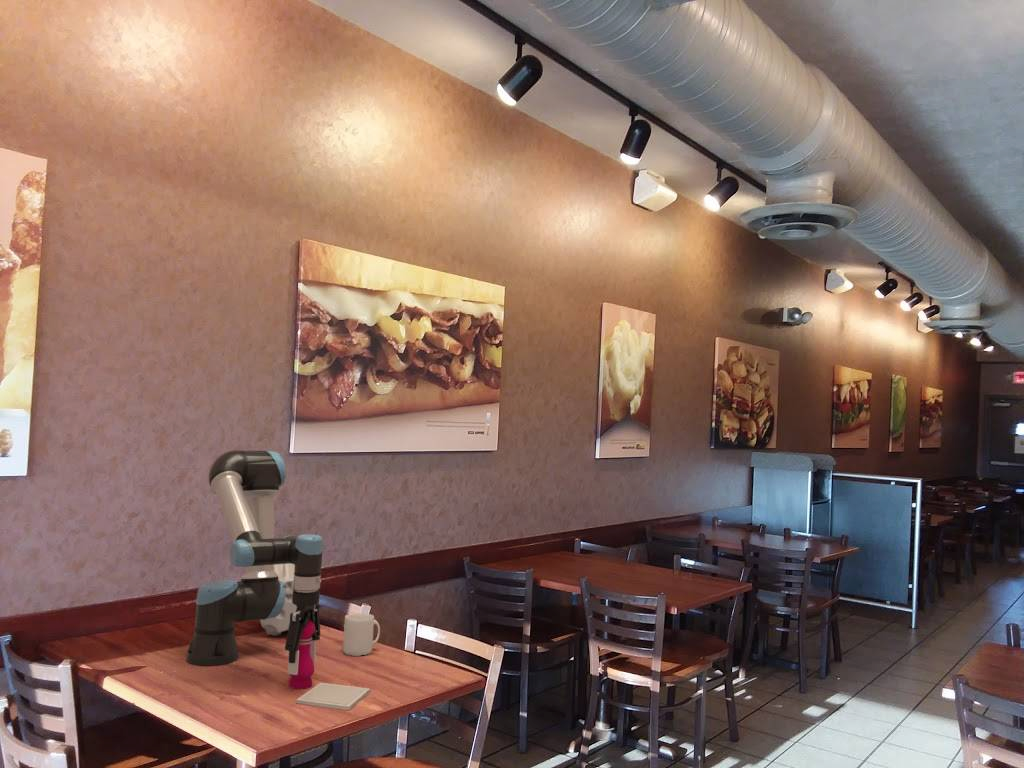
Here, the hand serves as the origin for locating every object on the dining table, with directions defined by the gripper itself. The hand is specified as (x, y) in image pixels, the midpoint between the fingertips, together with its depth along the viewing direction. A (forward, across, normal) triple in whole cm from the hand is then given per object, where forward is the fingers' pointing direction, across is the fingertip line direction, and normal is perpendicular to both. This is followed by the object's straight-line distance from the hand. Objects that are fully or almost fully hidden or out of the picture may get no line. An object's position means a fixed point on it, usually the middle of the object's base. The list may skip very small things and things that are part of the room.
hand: (301, 668), depth 228 cm
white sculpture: (+5, +49, +31) cm, 58 cm away
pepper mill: (+5, 0, 0) cm, 5 cm away
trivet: (+5, -6, -13) cm, 15 cm away
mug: (+5, +37, -3) cm, 37 cm away
